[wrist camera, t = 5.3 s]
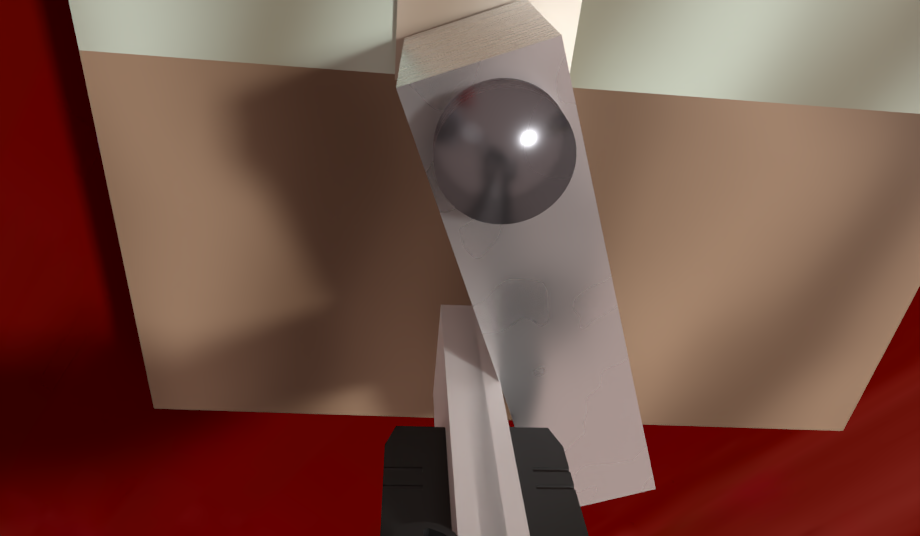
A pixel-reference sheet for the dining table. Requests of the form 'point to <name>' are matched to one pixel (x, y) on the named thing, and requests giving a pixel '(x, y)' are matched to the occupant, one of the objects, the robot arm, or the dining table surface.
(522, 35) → the bar
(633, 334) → the board
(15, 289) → the dining table surface
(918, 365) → the dining table surface
